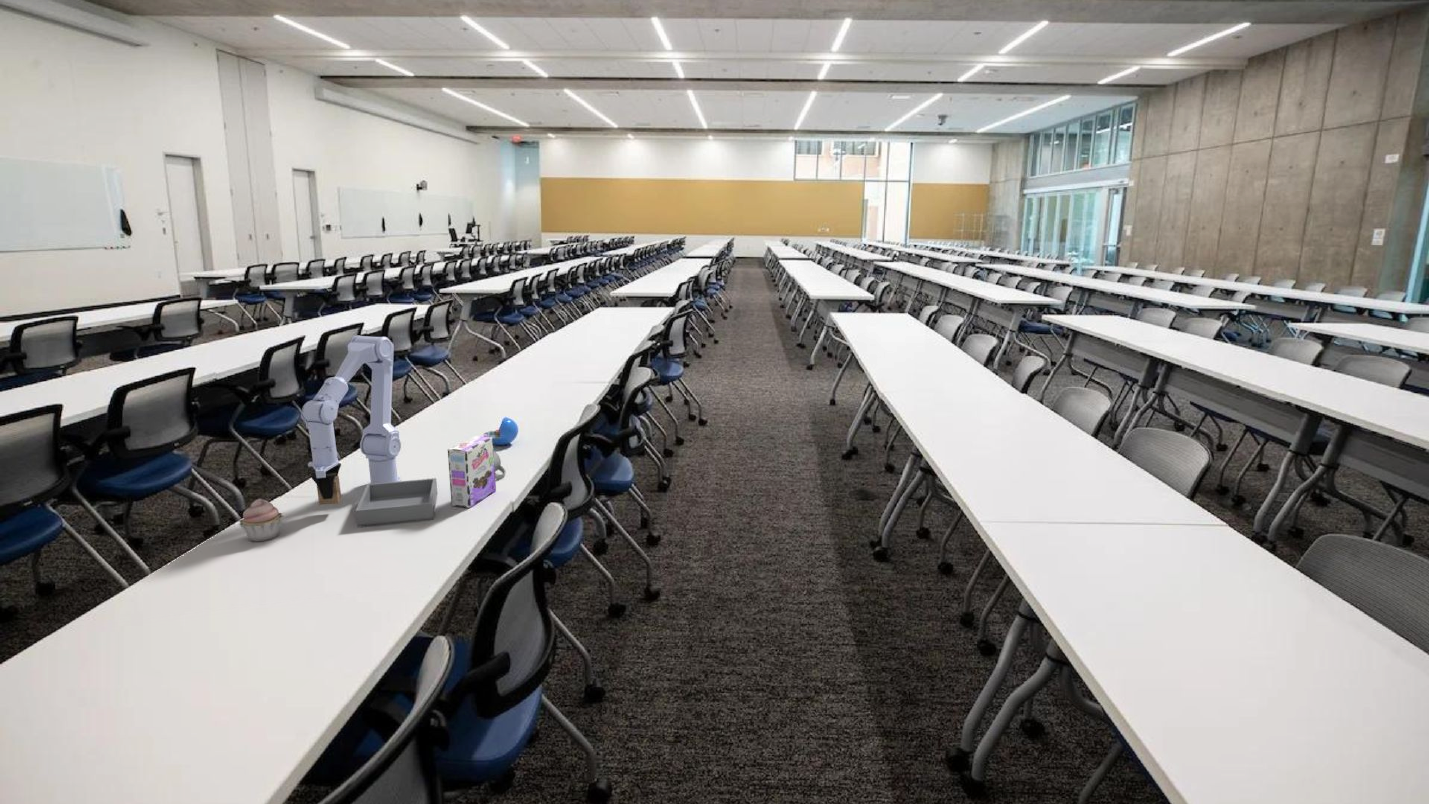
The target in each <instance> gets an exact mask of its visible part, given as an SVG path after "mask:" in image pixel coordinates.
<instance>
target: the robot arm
mask: <svg viewBox="0 0 1429 804" xmlns="http://www.w3.org/2000/svg"><path fill="white" fill-rule="evenodd" d="M394 347H395V344H394V343H393V342H392V340H390V339H389V338H388V337H387V336H367V335H366V336H365V335H359V334H358V335H354V336H353V337H352V338H351V340H350V342H349V343H348V344H347V352H348V353H347V354H346V356H345V358H344V360H343V361H342V363H341V364H340V366H339V368H338V369H337V370H338V371H337V372H336V374H335V376H332V377H328V378H326V379H325V380H324V382H323V384H322V386H321V388H320V389H319V390H318V391H317V393H316V394H315V396H314V397H313V399H311V400H308V401H306V402H305V403H304V405H303V406H302V409H301V413H300V417H301V419H302V420H303V422H304V423H305V427H306V429H307V430H308V434H309V441H310V442H309V443H310V449H311V456H312V458H311V459H312V461H309V462H308V463H307V466H308V467H310V468H311V467H312V468H313V469H314V471H315V472H314V473H312V474H311V479H312V480H313V482H314V484H316V487H317V486H318V488H319V490H320V493H321V495H322V497H323V499H332V497H333V484H334V479H335V476H339V471H340V468H341V467H342V464H341V463H340V462H339V459H338V451H337V445H336V437H335V428H334V421H335V420H336V419H337V418H338V417H337V416H338V409H339V408H340V407H339V406H340V405H339V404H340V403H341V402H342V400H343V398H344V397H345V396H346V394H347V392H348V391H349V386H348V383H349V382H350V381H351V379H352V378H353V377H354V376H355V375H356V373H357V372H358V370H359V369H361V367H362V366H363V364H366V365H367V366H368V367H369V368H370V369H371V388H370V389H371V392H370V393H371V394H370V424H368V425H367V426H366V427H365V428H364V429H363V430H362V435H361V436H362V437H361V439H360V442H359V448H360V452H361V453H362V454H363V455H365V459H367V461H368V468H369V479H370V484H375V483H386V482H398V481H402V477H401V476H398V466H397V459H396V457H398V455H399V453H400V451H401V448H402V444H401V443H402V441H401V440H400V431H399V430H398V429H397V428H396V427H395V426H393V425H392V400H393V399H392V397H393V369H394V368H393V367H394V350H395V349H394Z"/></svg>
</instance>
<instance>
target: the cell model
mask: <svg viewBox="0 0 1429 804" xmlns="http://www.w3.org/2000/svg"><path fill="white" fill-rule="evenodd" d="M518 434H519V426H518V424H517V422H516V421H514V420H513V419H512V418H510V417H506V416H505V417H503V418H502V420H501V423H500V426H499V427H498V429H496V430H495V429H494V430H490V431H489V430H488V431H486V432H484V433H483V437H492V439H493V445H498V446H505V445H508V444H511V443H512V442H514V441H515V440H516V439H517V437H518Z"/></svg>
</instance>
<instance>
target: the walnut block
mask: <svg viewBox="0 0 1429 804" xmlns="http://www.w3.org/2000/svg"><path fill="white" fill-rule="evenodd" d="M316 490H317V497H318V505H319V506H323V505H334V504H339V503H340V500H341V498H342V492H341V491H342V490H341V483H340V478H339V475H338V476H335V479H334V484H333V497H332V499H323V497H322V495H321V493H320V490H319V488H318V486H317V485H316Z"/></svg>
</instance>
